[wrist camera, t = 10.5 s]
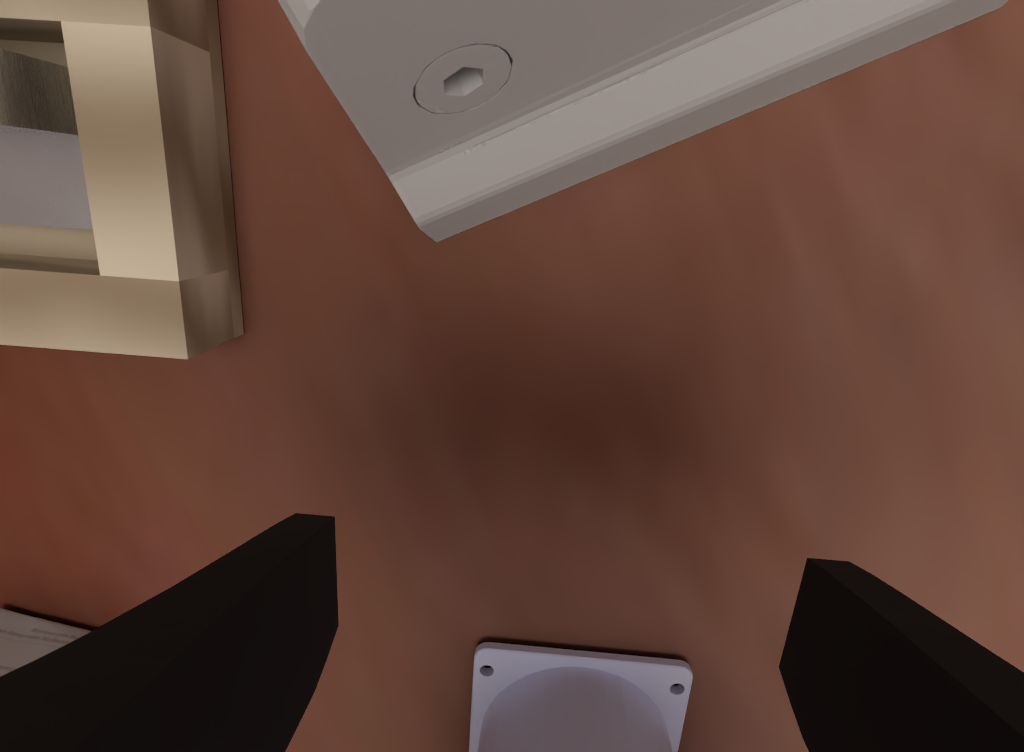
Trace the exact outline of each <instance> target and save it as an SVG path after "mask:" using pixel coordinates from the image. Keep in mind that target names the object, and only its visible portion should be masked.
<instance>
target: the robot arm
mask: <svg viewBox="0 0 1024 752" xmlns="http://www.w3.org/2000/svg"><path fill="white" fill-rule="evenodd" d="M337 628H338V601H337V572H336V543H335V517H332V516H321V515H310V514H298V513H296V514H294V515H292V516H290V517H288V518H286V519H284V520H282V521H281V522H279V523H277V524H275V525H274V526H272V527H270V528H269V529H267V530H265V531H264V532H262V533H260V534H259V535H257V536H255V537H254V538H252V539H250V540H249V541H247V542H246V543H244V544H242V545H241V546H239V547H237V548H236V549H234V550H232V551H231V552H229V553H228V554H226V555H224V556H223V557H221V558H219V559H218V560H216V561H214V562H213V563H211V564H209V565H208V566H206V567H204V568H203V569H201V570H199V571H198V572H196V573H194V574H193V575H191V576H189V577H188V578H186V579H184V580H183V581H181V582H179V583H178V584H176V585H174V586H172V587H171V588H169V589H167V590H165V591H164V592H162V593H160V594H158V595H156V596H155V597H153V598H151V599H149V600H147V601H146V602H144V603H142V604H140V605H138V606H137V607H135V608H133V609H131V610H129V611H127V612H126V613H124V614H122V615H120V616H118V617H117V618H115V619H113V620H111V621H109V622H108V623H106V624H104V625H102V626H100V627H99V628H97V629H95V630H93V631H91V632H90V633H88V634H86V635H84V636H82V637H80V638H78V639H76V640H74V641H72V642H70V643H68V644H66V645H64V646H62V647H60V648H58V649H56V650H54V651H52V652H50V653H48V654H46V655H44V656H42V657H40V658H38V659H36V660H34V661H32V662H30V663H28V664H26V665H24V666H22V667H19V668H17V669H15V670H13V671H11V672H9V673H7V674H5V675H3V676H0V752H285V751H286V749H287V747H288V745H289V743H290V741H291V739H292V737H293V735H294V733H295V731H296V729H297V727H298V724H299V722H300V720H301V718H302V716H303V714H304V712H305V710H306V708H307V706H308V704H309V702H310V700H311V698H312V696H313V694H314V692H315V689H316V687H317V684H318V681H319V678H320V676H321V673H322V670H323V668H324V665H325V662H326V660H327V657H328V654H329V651H330V648H331V645H332V642H333V640H334V637H335V634H336V631H337ZM484 665H488V666H491V668H485V667H483V666H484ZM779 669H780V672H781V675H782V678H783V681H784V684H785V687H786V690H787V694H788V697H789V700H790V703H791V706H792V709H793V712H794V714H795V717H796V720H797V723H798V726H799V729H800V731H801V734H802V737H803V739H804V742H805V744H806V746H807V748H808V750H809V752H1024V673H1023V672H1022V671H1020V670H1019V669H1017V668H1016V667H1014V666H1013V665H1011V664H1009V663H1008V662H1006V661H1005V660H1003V659H1002V658H1000V657H999V656H997V655H996V654H994V653H992V652H991V651H989V650H988V649H986V648H985V647H983V646H982V645H980V644H979V643H977V642H976V641H974V640H972V639H971V638H969V637H968V636H966V635H965V634H963V633H962V632H960V631H959V630H957V629H956V628H954V627H953V626H951V625H950V624H948V623H947V622H945V621H944V620H942V619H941V618H939V617H937V616H936V615H934V614H933V613H931V612H930V611H928V610H927V609H925V608H924V607H922V606H921V605H919V604H918V603H916V602H915V601H913V600H912V599H910V598H908V597H907V596H905V595H904V594H902V593H901V592H899V591H898V590H896V589H894V588H893V587H891V586H890V585H888V584H887V583H885V582H883V581H882V580H880V579H878V578H877V577H875V576H874V575H872V574H870V573H868V572H867V571H865V570H863V569H862V568H860V567H858V566H856V565H854V564H852V563H850V562H848V561H836V560H825V559H813V558H807V561H806V565H805V569H804V573H803V577H802V581H801V584H800V588H799V592H798V596H797V600H796V604H795V607H794V611H793V615H792V619H791V623H790V626H789V630H788V634H787V638H786V642H785V646H784V649H783V653H782V657H781V661H780V665H779ZM692 680H693V674H692V671H691V668H690V666H689V664H688V663H686V662H685V661H682V660H675V659H665V658H654V657H643V656H633V655H622V654H611V653H601V652H590V651H579V650H569V649H558V648H547V647H537V646H526V645H515V644H505V643H494V642H484V643H481V644H479V645H478V646H477V647H476V650H475V655H474V668H473V686H472V704H471V722H470V740H469V752H678V749H679V744H680V739H681V734H682V729H683V724H684V719H685V714H686V710H687V705H688V700H689V695H690V690H691V685H692ZM677 683H679V685H678V686H672V685H673V684H677Z"/></svg>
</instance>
